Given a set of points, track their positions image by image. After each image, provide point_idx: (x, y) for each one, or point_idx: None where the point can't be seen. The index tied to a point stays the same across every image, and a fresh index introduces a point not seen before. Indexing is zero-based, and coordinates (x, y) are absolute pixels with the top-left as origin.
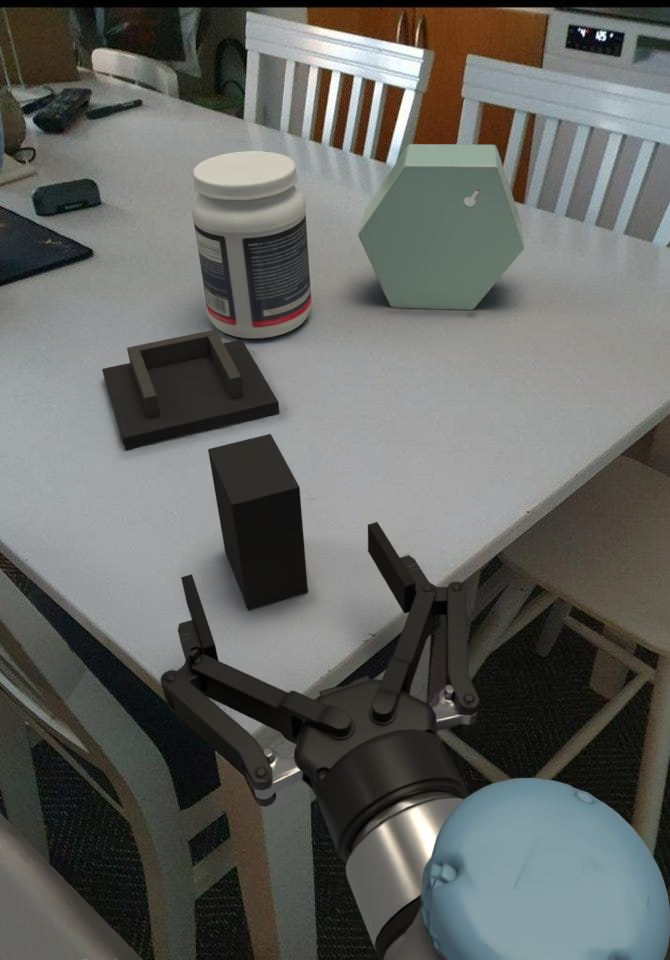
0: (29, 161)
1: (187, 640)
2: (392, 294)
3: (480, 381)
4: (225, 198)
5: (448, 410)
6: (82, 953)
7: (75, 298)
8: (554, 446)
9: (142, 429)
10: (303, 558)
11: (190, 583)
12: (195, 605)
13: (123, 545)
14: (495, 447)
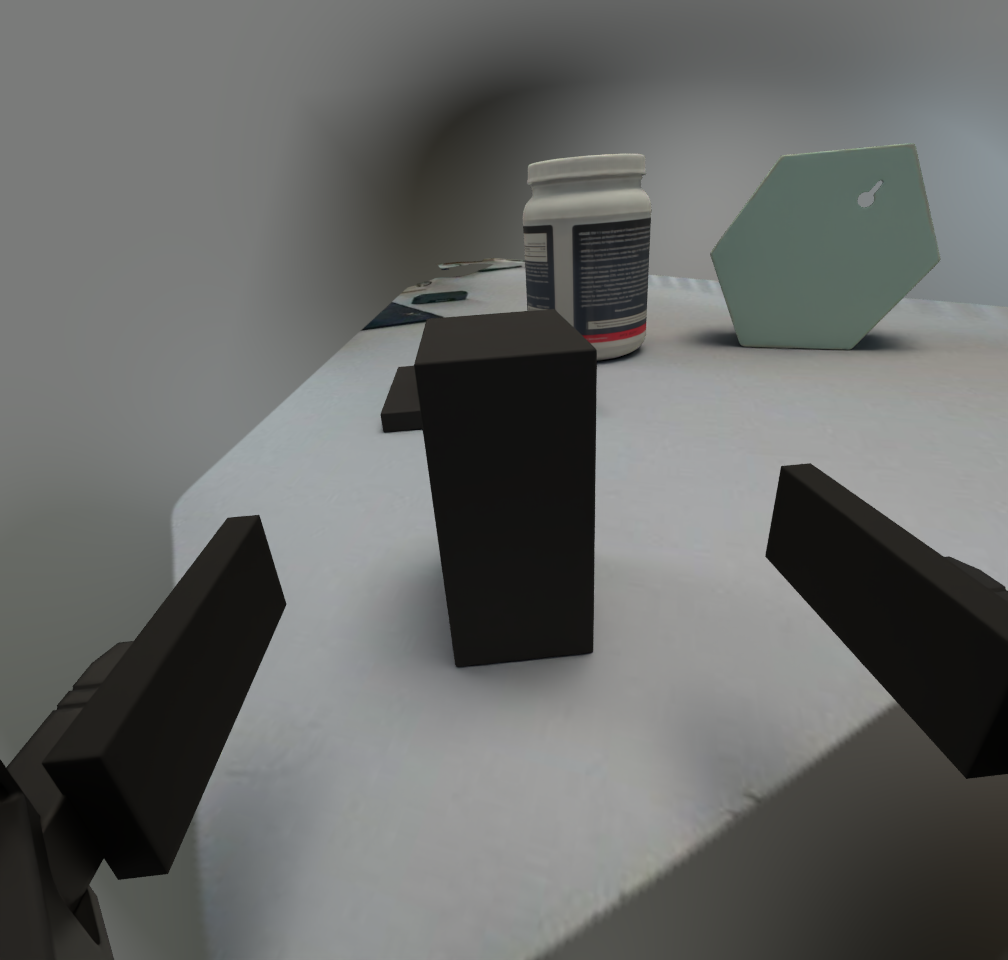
0: (424, 285)
1: (78, 709)
2: (744, 329)
3: (889, 401)
4: (558, 176)
5: (846, 425)
6: None
7: (410, 337)
8: None
9: (409, 408)
10: (589, 564)
11: (235, 533)
12: (187, 590)
13: (309, 527)
14: (954, 468)
